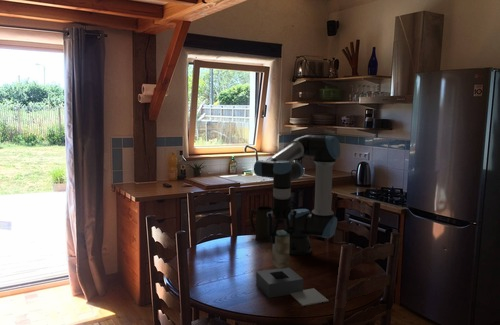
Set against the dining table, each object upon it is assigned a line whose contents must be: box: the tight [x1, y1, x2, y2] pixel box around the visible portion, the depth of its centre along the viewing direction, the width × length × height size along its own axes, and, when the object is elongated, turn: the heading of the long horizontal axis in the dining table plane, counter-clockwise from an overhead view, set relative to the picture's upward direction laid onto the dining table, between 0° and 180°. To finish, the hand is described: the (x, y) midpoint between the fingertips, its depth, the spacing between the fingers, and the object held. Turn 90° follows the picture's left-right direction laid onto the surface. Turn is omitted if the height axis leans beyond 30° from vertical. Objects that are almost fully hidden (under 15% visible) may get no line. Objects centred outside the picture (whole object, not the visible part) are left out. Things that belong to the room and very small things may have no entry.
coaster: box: [290, 287, 329, 307], centre depth 171 cm, size 12×12×1 cm
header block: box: [255, 267, 304, 299], centre depth 179 cm, size 16×14×6 cm
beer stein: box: [248, 205, 274, 243], centre depth 245 cm, size 15×11×20 cm
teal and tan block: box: [271, 229, 290, 269], centre depth 177 cm, size 5×6×15 cm
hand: (280, 249), depth 177 cm, fingers closed on teal and tan block, 5 cm apart
